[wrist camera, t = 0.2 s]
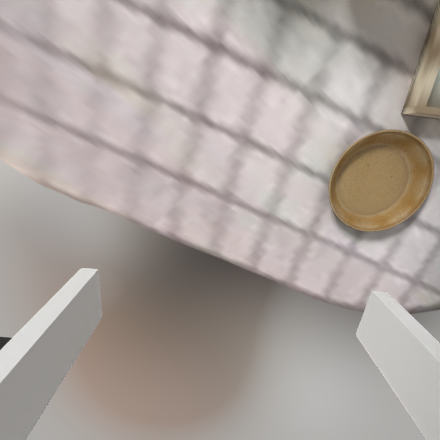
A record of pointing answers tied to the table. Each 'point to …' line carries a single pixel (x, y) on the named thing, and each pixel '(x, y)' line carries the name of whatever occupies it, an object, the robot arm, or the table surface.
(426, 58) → the tray
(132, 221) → the table surface
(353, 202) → the plant saucer
